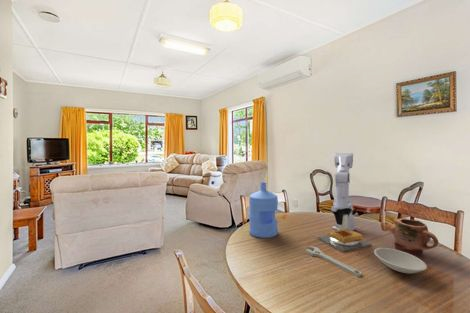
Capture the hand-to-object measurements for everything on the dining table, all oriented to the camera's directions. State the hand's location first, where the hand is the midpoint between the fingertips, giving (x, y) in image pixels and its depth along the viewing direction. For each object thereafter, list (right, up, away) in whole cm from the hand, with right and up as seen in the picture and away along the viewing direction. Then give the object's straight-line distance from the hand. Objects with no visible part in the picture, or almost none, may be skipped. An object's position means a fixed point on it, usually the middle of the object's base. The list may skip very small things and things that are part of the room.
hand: (341, 223), depth 113 cm
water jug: (-37, -9, +13) cm, 41 cm away
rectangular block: (0, -3, 0) cm, 3 cm away
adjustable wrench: (-14, -11, -18) cm, 26 cm away
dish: (+10, -11, -26) cm, 29 cm away
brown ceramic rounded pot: (+26, -10, -12) cm, 30 cm away
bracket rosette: (+1, -9, 0) cm, 9 cm away
